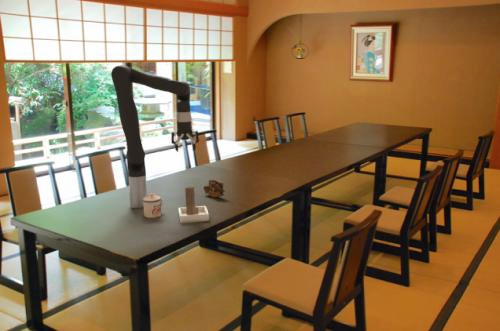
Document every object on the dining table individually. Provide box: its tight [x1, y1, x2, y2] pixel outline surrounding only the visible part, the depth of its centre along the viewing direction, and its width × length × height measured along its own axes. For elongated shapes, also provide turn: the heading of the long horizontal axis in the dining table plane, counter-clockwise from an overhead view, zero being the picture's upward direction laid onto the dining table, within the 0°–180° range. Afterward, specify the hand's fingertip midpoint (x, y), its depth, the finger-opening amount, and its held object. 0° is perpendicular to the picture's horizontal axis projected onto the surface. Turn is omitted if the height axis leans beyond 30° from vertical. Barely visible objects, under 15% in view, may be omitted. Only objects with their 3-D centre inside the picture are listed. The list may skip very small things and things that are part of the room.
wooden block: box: [185, 186, 198, 215], centre depth 247 cm, size 7×3×15 cm, turn 158°
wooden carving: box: [203, 179, 227, 198], centre depth 283 cm, size 16×5×10 cm, turn 53°
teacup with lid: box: [143, 192, 163, 219], centre depth 253 cm, size 12×9×12 cm
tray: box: [177, 205, 210, 224], centre depth 248 cm, size 14×14×4 cm
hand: (185, 151), depth 262 cm, fingers open, 8 cm apart
